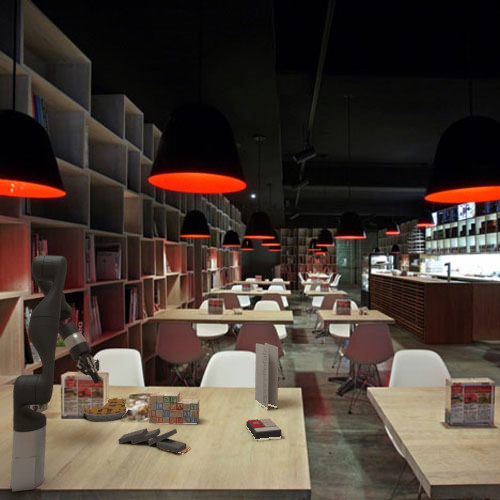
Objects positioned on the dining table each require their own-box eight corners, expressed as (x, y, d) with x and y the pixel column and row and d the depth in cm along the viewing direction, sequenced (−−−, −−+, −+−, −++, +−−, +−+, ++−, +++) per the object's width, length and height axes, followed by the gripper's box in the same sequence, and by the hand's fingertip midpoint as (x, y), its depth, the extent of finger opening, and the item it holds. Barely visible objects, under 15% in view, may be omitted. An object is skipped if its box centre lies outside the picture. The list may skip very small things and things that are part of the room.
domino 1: (124, 438, 160) (147, 432, 159) (119, 443, 156) (142, 437, 154) (123, 434, 161) (146, 428, 159) (118, 439, 156) (141, 433, 155)
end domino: (167, 446, 156) (190, 450, 152) (160, 451, 151) (183, 456, 147) (167, 442, 156) (190, 446, 152) (160, 447, 151) (183, 451, 147)
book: (270, 417, 177) (281, 428, 163) (270, 427, 177) (281, 439, 162) (246, 419, 174) (255, 430, 160) (246, 429, 174) (255, 442, 160)
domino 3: (156, 441, 158) (177, 432, 156) (149, 445, 153) (170, 436, 151) (155, 437, 159) (175, 428, 156) (147, 441, 154) (169, 432, 152)
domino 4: (165, 442, 156) (186, 447, 151) (156, 446, 151) (177, 452, 147) (165, 437, 156) (186, 443, 151) (156, 442, 152) (177, 448, 147)
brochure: (254, 402, 208) (255, 343, 210) (264, 400, 210) (265, 342, 212) (267, 410, 195) (268, 348, 197) (277, 409, 198) (278, 347, 199)
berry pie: (78, 424, 175) (79, 412, 175) (85, 408, 196) (85, 397, 196) (131, 420, 181) (131, 409, 181) (131, 404, 202) (132, 394, 202)
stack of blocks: (199, 420, 182) (199, 392, 183) (196, 425, 176) (197, 396, 177) (152, 418, 183) (153, 390, 184) (148, 423, 177) (149, 395, 178)
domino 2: (137, 439, 160) (160, 432, 159) (132, 444, 155) (156, 437, 154) (135, 435, 160) (159, 428, 159) (130, 440, 155) (155, 433, 154)
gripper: (73, 341, 158) (95, 379, 153) (94, 339, 171) (114, 374, 166) (59, 353, 159) (80, 390, 154) (81, 350, 171) (101, 385, 167)
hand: (98, 382), depth 160 cm, fingers closed
